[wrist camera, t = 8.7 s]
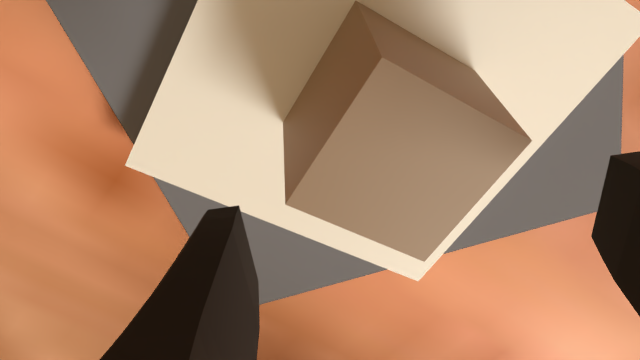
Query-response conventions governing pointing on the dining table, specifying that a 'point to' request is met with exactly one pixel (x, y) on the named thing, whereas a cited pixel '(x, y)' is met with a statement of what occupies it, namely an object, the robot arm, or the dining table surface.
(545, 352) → the dining table surface
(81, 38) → the mat
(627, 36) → the cover
